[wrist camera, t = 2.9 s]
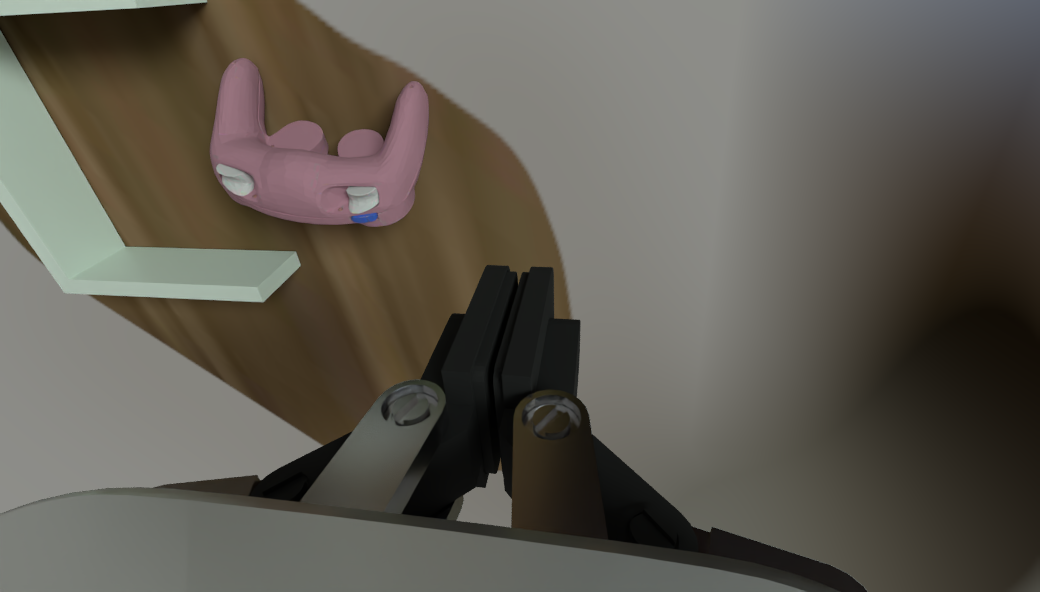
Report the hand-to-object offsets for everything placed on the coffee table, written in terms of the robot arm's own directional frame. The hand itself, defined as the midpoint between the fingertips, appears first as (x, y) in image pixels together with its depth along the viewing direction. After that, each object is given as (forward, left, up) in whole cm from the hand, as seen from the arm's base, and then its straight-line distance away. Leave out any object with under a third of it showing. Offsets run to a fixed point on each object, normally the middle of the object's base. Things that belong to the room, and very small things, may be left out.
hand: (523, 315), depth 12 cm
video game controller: (-1, -11, -14) cm, 18 cm away
